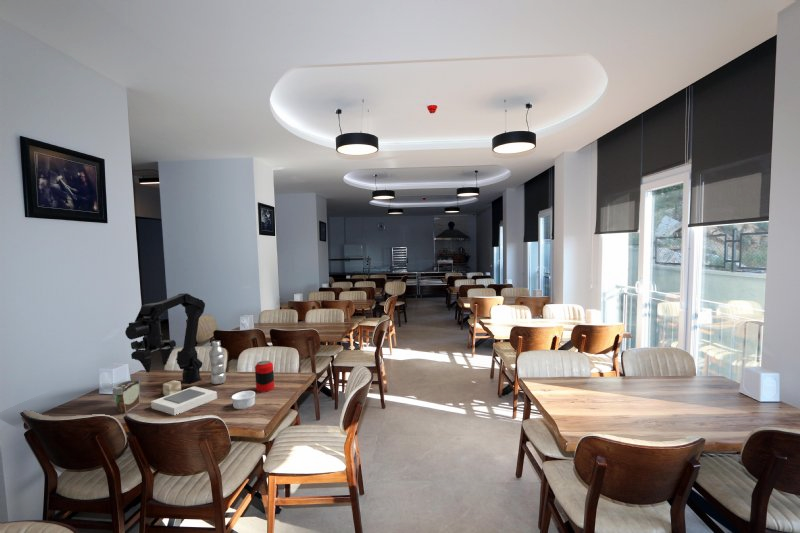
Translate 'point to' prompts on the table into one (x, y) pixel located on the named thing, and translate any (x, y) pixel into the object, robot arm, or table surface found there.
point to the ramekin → (243, 399)
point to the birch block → (171, 387)
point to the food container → (127, 395)
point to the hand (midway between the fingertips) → (156, 368)
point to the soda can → (264, 376)
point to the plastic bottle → (217, 363)
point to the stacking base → (183, 400)
